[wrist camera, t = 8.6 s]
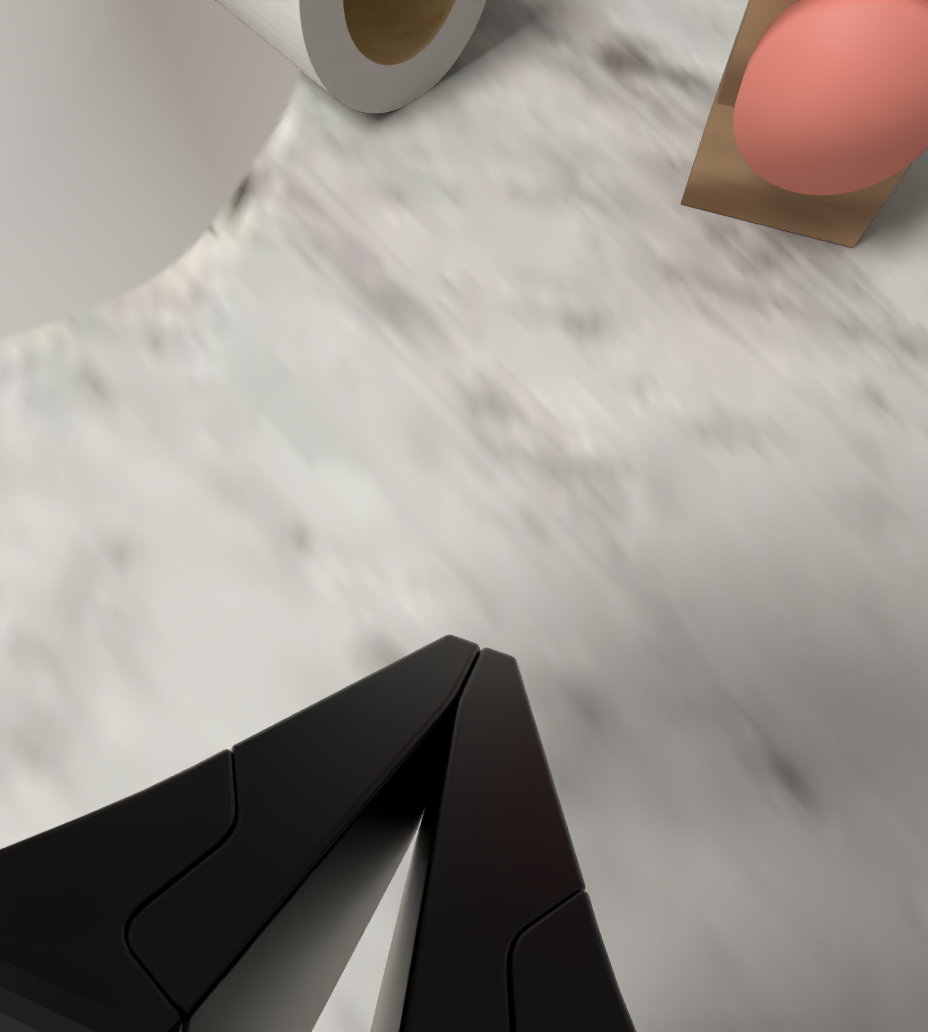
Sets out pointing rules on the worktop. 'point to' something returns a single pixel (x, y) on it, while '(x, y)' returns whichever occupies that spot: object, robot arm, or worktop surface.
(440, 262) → the worktop surface
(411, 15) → the toilet paper
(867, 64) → the knob
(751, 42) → the catch block
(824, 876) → the worktop surface
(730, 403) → the worktop surface
